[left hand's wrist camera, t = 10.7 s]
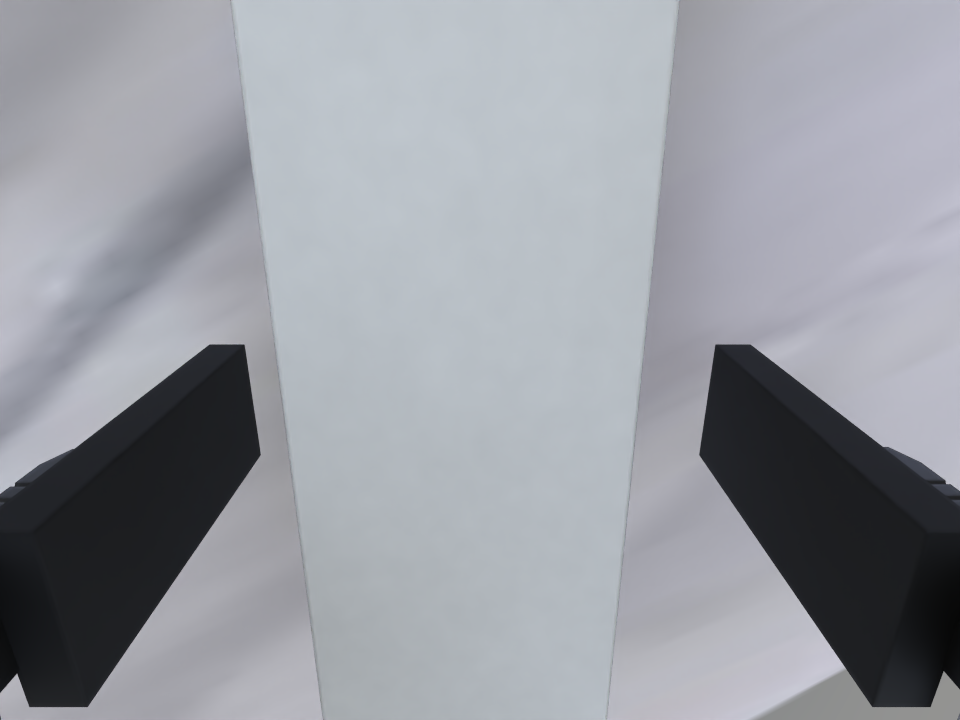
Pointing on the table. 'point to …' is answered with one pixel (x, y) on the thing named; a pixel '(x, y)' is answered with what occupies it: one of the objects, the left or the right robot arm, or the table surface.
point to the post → (459, 332)
